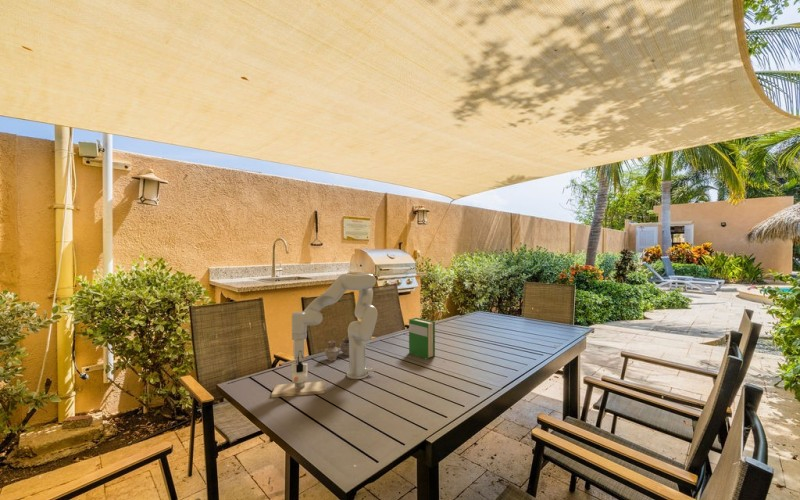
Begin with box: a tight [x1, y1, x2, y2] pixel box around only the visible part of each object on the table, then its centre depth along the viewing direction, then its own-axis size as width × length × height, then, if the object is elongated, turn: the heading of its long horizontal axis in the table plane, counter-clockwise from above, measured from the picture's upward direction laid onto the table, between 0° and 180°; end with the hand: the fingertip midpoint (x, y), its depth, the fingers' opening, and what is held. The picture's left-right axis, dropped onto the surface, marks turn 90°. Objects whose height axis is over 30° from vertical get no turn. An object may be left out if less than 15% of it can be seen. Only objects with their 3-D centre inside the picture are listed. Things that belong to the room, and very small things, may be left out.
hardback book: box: [408, 317, 436, 360], centre depth 235 cm, size 18×7×24 cm, turn 42°
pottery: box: [324, 337, 349, 362], centre depth 232 cm, size 11×25×12 cm, turn 144°
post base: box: [270, 380, 326, 398], centre depth 178 cm, size 26×12×5 cm, turn 101°
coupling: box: [291, 362, 309, 384], centre depth 177 cm, size 9×8×9 cm
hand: (299, 370), depth 178 cm, fingers closed on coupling, 3 cm apart
